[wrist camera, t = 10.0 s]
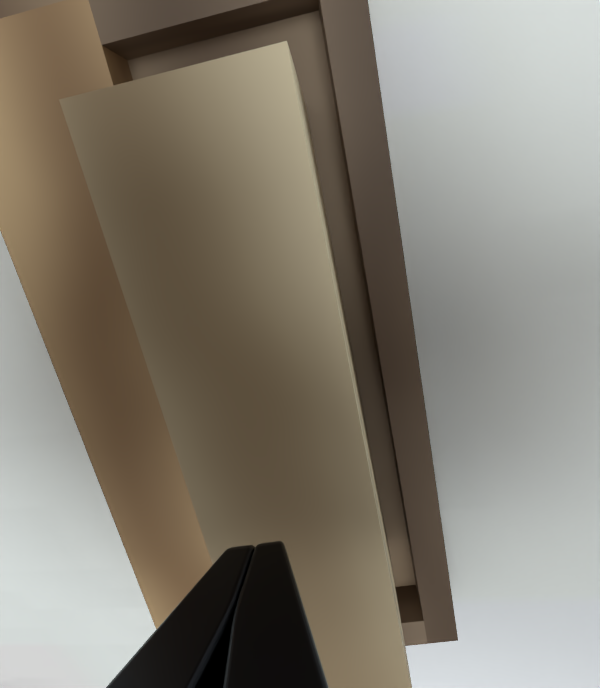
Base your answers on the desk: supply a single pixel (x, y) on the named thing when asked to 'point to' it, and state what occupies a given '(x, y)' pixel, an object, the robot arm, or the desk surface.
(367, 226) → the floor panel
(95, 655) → the desk surface
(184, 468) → the oak plank
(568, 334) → the desk surface
